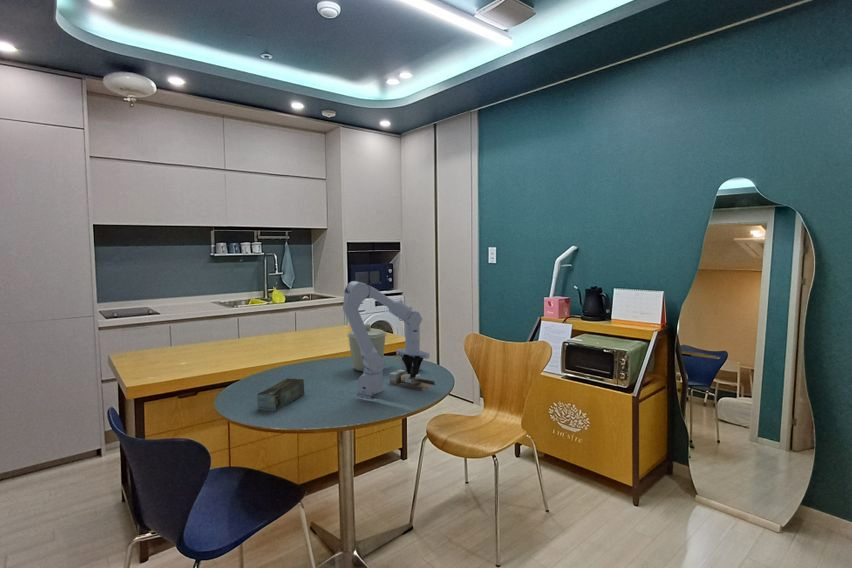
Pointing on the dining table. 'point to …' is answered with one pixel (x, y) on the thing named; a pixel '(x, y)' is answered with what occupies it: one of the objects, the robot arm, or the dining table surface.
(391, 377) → the base
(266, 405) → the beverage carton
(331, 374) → the dining table surface
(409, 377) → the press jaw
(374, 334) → the canister
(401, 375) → the potato
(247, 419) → the dining table surface
